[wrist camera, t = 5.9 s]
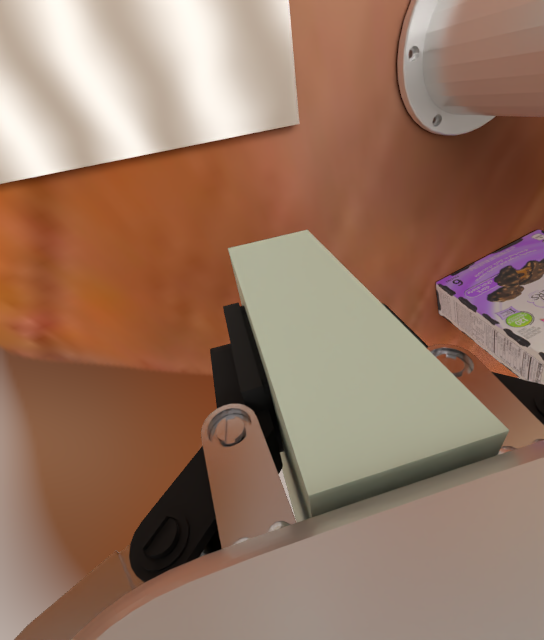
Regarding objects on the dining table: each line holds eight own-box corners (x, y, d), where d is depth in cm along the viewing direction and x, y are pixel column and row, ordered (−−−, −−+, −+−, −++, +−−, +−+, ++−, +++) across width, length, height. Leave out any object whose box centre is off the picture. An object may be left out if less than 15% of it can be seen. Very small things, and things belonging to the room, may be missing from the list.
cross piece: (227, 248, 11) (308, 495, 4) (307, 229, 12) (508, 429, 5) (283, 476, 21) (339, 676, 14) (327, 463, 21) (404, 650, 14)
